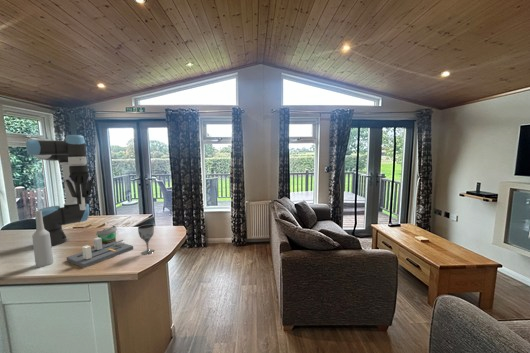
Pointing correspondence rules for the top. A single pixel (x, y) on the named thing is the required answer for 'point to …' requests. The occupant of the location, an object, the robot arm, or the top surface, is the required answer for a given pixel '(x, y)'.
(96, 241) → the fader
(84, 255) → the fader
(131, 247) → the console
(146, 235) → the wine glass
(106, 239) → the food container
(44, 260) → the bottle
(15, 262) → the top surface
